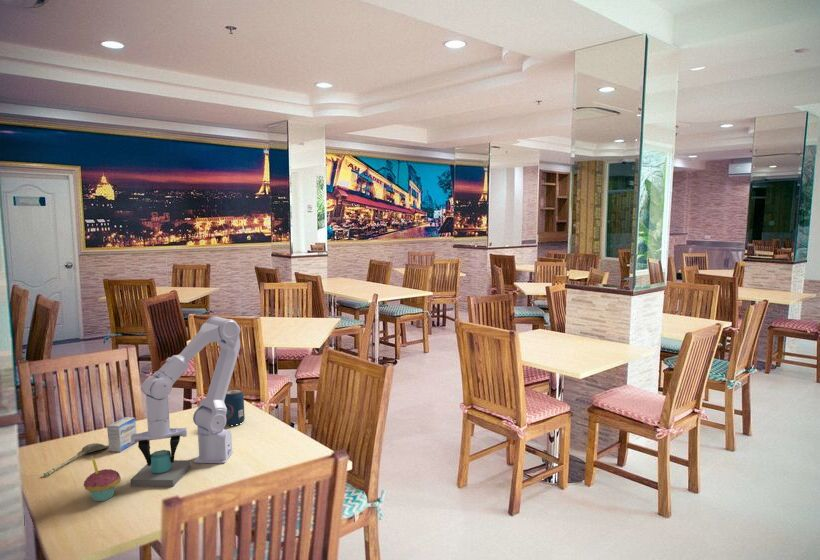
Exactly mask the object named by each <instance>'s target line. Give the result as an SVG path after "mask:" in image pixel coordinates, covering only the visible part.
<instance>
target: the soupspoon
mask: <svg viewBox="0 0 820 560" xmlns="http://www.w3.org/2000/svg"><path fill="white" fill-rule="evenodd" d="M103 449H104V450H105V449H108V446H107V445H106V444H102V443H99V442H97V443H95V442H94V443H90V444H87V445H85V446H83V447H82V448H81V451H82V452H81V453H80V452H79V453H78V454H77V455H75V456H73V457H71V458H69V459H67V460H66V461H64V462H62V463H61V464H59V465H57V466H56V467H54V468H52V469H50V470H49V471H46V472H44V473H43V477H45V476H46V478H47V477H48V478H49V476H50V475H51V474H53V473H54V472H56V471H57V470H58V469H60V468H62V467H63V466H65V465H66V464H68V463H70V462H71V461H73V460H76V459H77V458H79V457H81V456H83V455H86V454H89V453H93V452H96V451H100V450H103ZM48 475H49V476H48Z"/></svg>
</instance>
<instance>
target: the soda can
mask: <svg viewBox="0 0 820 560" xmlns="http://www.w3.org/2000/svg"><path fill="white" fill-rule="evenodd" d="M224 403H225V405H226V408H227V412H226V425H227V424H228V425H236V424H240V423H242V422H243V423H244V421H245V418H246V417H245V396H244V393H243V391H242V389H240V388H231V389H228V390H227V393H226V397H225V400H224ZM243 423H242V424H243ZM228 425H227V426H228Z"/></svg>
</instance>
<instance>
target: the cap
mask: <svg viewBox="0 0 820 560" xmlns="http://www.w3.org/2000/svg"><path fill="white" fill-rule="evenodd" d="M150 458H151V471H152V473H162V472H167V471H168V470H170V469H171V468H172V467H171V450H167V449H162V450H161V449H160V450H155V451H154V452H152V453H150Z"/></svg>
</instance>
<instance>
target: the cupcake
mask: <svg viewBox="0 0 820 560" xmlns="http://www.w3.org/2000/svg"><path fill="white" fill-rule="evenodd" d="M91 460H92V461H91V463H92V465H93V469H94V472H93V473H90V474H89V475H88V476H87V478H85V480H84V481H83V487H84V488H85V490H86V491H88V492H89V494H90V496H91V497H92V499H93V501H94V502H103V501H107V500H109V499H111V498H112V497H113V496H114V493H115V490H116V487H117V486H118V485H119V484H120V483H121V480H122V478H121V475H120V473H119V471H117V470H115V469H108V468H107V469H106V468H105V469H101V470H99V469H98V466H97V463H96V458H95V457H94V456H93V455H91Z"/></svg>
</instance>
